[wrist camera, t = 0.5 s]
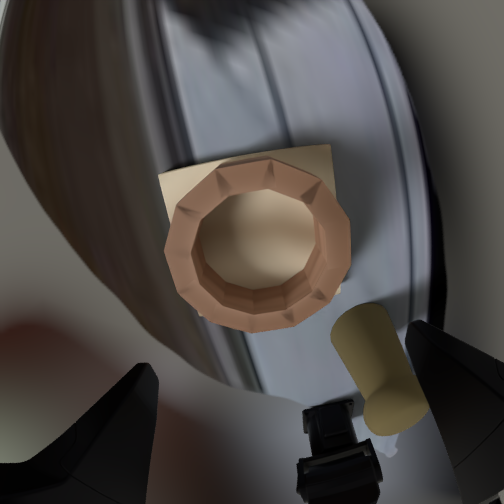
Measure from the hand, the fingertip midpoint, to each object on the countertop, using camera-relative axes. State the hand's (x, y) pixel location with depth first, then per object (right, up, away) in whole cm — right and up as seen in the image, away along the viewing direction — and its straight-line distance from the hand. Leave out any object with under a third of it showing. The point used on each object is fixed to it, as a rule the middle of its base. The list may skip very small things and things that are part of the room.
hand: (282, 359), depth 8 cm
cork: (+9, -4, +15) cm, 18 cm away
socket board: (-1, +5, +11) cm, 12 cm away
